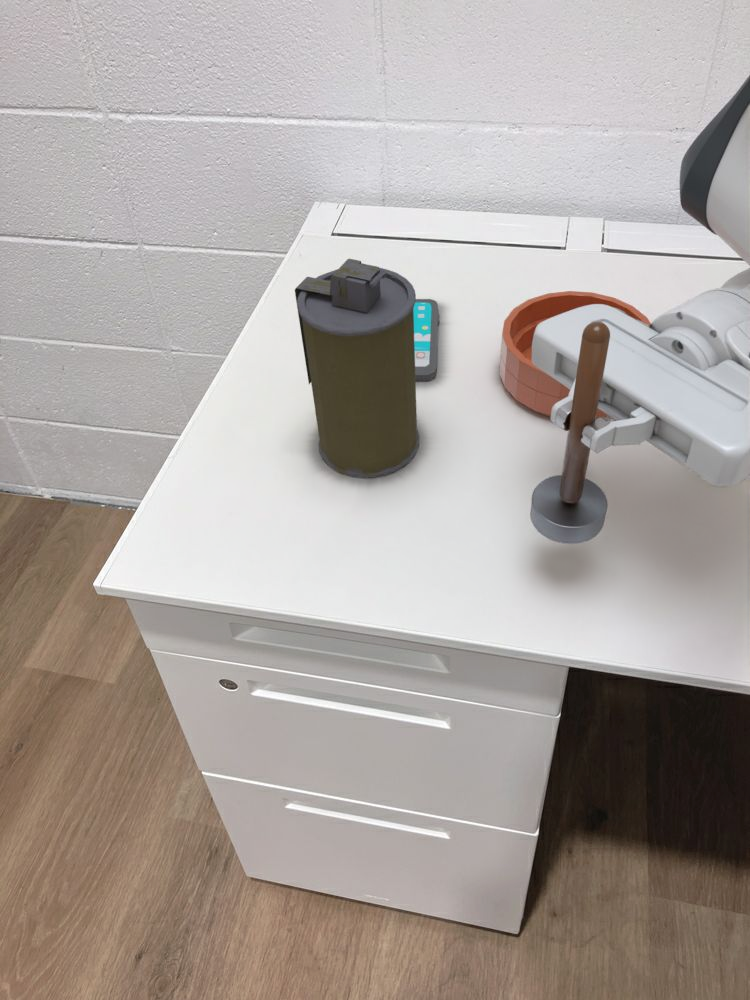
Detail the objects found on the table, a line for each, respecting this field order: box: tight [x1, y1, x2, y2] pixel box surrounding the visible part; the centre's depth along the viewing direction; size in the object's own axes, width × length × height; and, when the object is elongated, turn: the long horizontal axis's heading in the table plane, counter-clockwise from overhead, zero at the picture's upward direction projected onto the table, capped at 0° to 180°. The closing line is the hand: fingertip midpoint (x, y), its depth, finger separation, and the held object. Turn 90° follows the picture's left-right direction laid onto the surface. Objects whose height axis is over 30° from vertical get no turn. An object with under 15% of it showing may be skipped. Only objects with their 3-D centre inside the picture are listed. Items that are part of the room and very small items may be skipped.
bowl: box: [498, 290, 652, 420], centre depth 86 cm, size 16×16×6 cm
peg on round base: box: [529, 322, 610, 545], centre depth 59 cm, size 6×6×19 cm
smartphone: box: [413, 298, 440, 382], centre depth 94 cm, size 9×1×15 cm
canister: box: [294, 258, 420, 479], centre depth 76 cm, size 11×10×20 cm
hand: (573, 430), depth 59 cm, fingers closed on peg on round base
